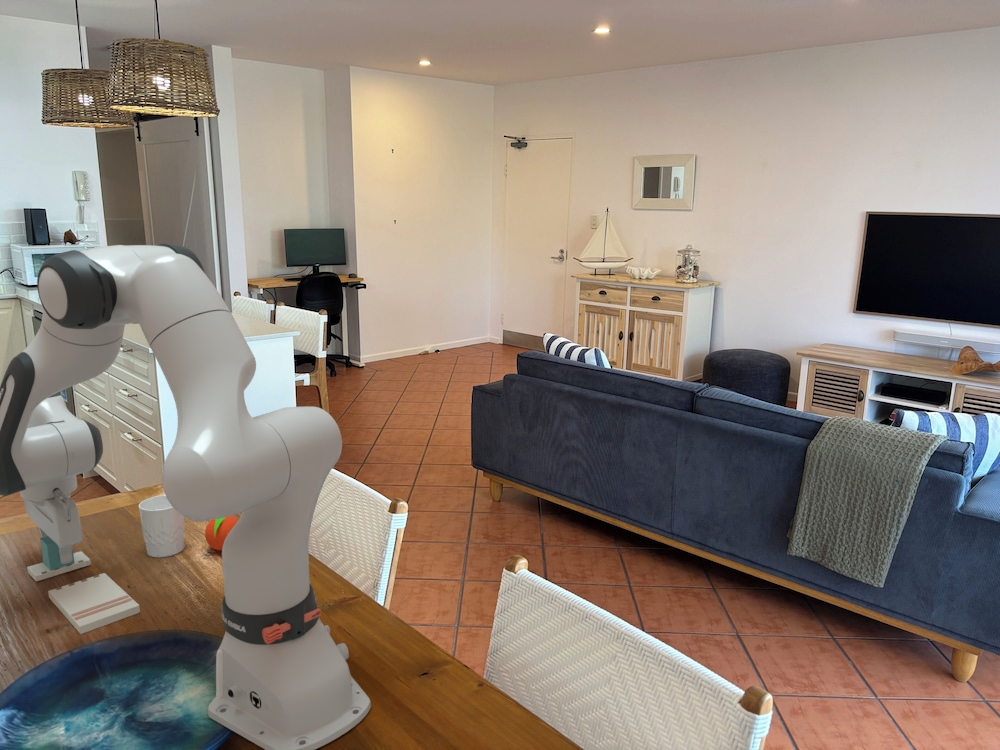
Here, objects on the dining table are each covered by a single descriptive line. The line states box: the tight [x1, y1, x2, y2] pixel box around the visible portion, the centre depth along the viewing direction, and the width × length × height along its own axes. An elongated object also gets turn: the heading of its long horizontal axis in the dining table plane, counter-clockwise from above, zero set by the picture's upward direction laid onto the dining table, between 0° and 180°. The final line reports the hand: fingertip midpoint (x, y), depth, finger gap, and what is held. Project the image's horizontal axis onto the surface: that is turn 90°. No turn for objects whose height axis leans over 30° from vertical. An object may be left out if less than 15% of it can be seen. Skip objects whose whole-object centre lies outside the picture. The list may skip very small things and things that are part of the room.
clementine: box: [204, 516, 239, 552], centre depth 143 cm, size 8×7×7 cm
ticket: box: [47, 572, 141, 635], centre depth 124 cm, size 16×9×1 cm, turn 47°
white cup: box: [138, 494, 185, 559], centre depth 143 cm, size 8×8×10 cm
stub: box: [26, 536, 92, 582], centre depth 135 cm, size 5×9×6 cm, turn 137°
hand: (57, 553), depth 135 cm, fingers open, 8 cm apart
